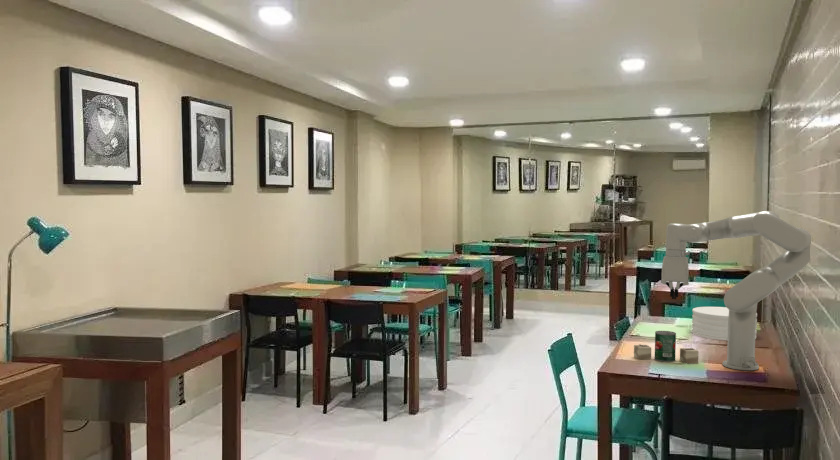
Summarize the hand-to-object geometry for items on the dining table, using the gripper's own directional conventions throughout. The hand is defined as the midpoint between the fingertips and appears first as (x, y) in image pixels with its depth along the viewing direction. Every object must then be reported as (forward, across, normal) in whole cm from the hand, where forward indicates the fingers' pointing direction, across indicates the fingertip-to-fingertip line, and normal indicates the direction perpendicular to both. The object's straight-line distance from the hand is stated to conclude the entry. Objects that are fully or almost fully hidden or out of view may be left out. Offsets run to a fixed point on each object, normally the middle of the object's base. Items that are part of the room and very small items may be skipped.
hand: (674, 298), depth 266 cm
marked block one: (+24, -6, +6) cm, 26 cm away
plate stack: (+24, -21, -59) cm, 67 cm away
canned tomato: (+24, +2, +6) cm, 25 cm away
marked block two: (+24, +11, +7) cm, 27 cm away
